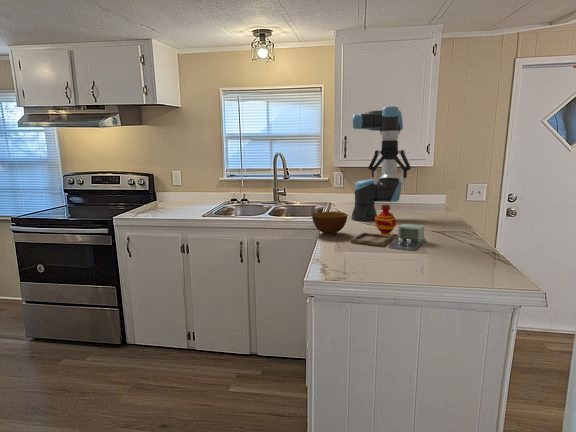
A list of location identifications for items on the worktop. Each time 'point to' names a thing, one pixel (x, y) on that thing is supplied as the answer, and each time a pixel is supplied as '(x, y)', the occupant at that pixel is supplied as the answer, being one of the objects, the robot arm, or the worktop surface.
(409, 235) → the block
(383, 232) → the potion bottle
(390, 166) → the robot arm
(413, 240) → the stub plate
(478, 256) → the worktop surface
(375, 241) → the tray
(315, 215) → the bowl
